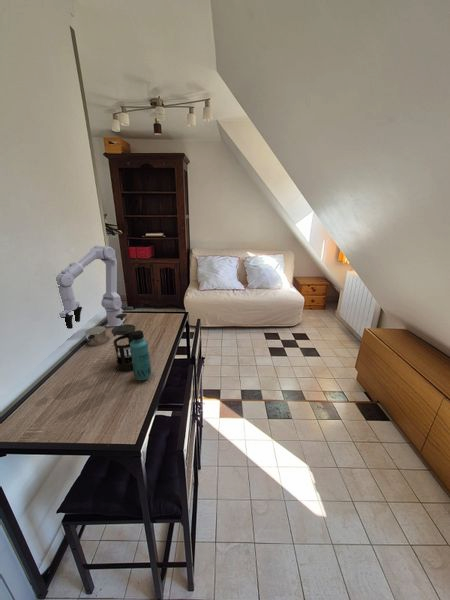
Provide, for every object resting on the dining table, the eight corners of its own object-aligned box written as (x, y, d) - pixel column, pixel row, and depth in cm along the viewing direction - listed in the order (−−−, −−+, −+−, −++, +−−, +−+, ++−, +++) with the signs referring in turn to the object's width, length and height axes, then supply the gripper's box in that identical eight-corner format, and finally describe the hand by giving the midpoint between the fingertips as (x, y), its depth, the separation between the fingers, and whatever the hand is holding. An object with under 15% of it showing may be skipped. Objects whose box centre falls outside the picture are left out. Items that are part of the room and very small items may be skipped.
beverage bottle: (131, 380, 95) (123, 334, 88) (143, 371, 101) (137, 326, 94) (143, 385, 92) (136, 338, 86) (156, 375, 98) (150, 330, 91)
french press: (135, 373, 100) (127, 320, 92) (112, 372, 100) (102, 320, 92) (145, 356, 111) (138, 308, 103) (124, 356, 111) (116, 308, 103)
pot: (93, 335, 130) (91, 325, 128) (111, 335, 130) (109, 324, 128) (83, 347, 119) (80, 336, 117) (102, 346, 119) (100, 335, 117)
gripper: (66, 293, 123) (72, 319, 127) (49, 304, 109) (57, 332, 114) (81, 293, 123) (87, 318, 128) (66, 303, 109) (73, 331, 114)
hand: (73, 324), depth 121 cm, fingers open, 7 cm apart
